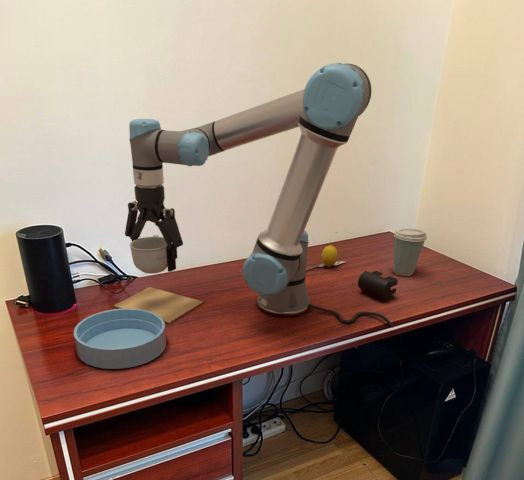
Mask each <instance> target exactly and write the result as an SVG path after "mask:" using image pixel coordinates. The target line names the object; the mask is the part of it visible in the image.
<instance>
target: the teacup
mask: <svg viewBox="0 0 524 480" xmlns="http://www.w3.org/2000/svg"><path fill="white" fill-rule="evenodd" d="M139 238H140V239H139ZM139 238H138V239H136V240H134V241H132V240H131V242H130V243H129V248H130V253H131V257H132V258H131V259H132V262H133V264H134V266H135V268H136V269H138V270H139V271H141V272H142V273H145V274H159V273H162V272H164V271H165V270H166V269H168V266H167V251H166V248H169V247H168V245H167V243H166V241H165V239H164V237H163V236H159V235H158V234H153V235H152V236H145V237H144V236H143V237H139Z"/></svg>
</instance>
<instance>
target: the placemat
mask: <svg viewBox="0 0 524 480" xmlns="http://www.w3.org/2000/svg"><path fill="white" fill-rule="evenodd" d="M203 303H204V301H203V300H200V299H196V298H192V297H188V296H184V295H181V294H177V293H174V292H171V291H167V290H162V289H159V288H155V287H151V286H149V287H147V288H145V289H143V290H141V291H139V292H137V293H135V294H133V295H131V296H129V297H127V298H125V299H123V300H121V301H120V302H117V303H115V304H113V308H114V309H126V308H129V309H141V310H146V311H149V312H153V313H155V314H157V315H159V316H160V317H161V318H162V319H163V321H164V323H165V324H168V325H170V324H171V323H173V322H175V321H176V320H178V319H179V318H181V317H184V315H187V314H188V313H189V312H191V311H193V310H194V309H196V308H197V307H199V306H201V305H202V304H203Z"/></svg>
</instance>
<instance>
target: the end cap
mask: <svg viewBox="0 0 524 480" xmlns="http://www.w3.org/2000/svg"><path fill="white" fill-rule="evenodd" d="M398 281H399V280H398V278H396V277H393V276H391V275H389V276H386V277H383V272H381V271H378V270H373V271H371V272H370V271H367V270H365V271H363V272H362V273H361V274H360V276H359V278H358V279H357V287H358V289H359V290H360V291H362V292H363V293H366V294H368V295H370V296H373V297H375V298H378V299H380V300H381V301H385V302H387V301H389V300H392V299H394V298H395V294H396V292H397V287H395V288H392V287H394V286H397V285H398Z"/></svg>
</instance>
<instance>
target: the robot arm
mask: <svg viewBox="0 0 524 480" xmlns="http://www.w3.org/2000/svg"><path fill="white" fill-rule="evenodd" d="M371 99H372V83H371V80H370V77H369V75H368V74H367V72H366V71H365V70H364V69H363V68H362V67H360V66H358V65H356V64H353V63H342V62H334V63H333V62H332V63H329V64H328V63H327V64H326V65H324V66H322V67H320V68H319V69H317V70H316V71H315V72H314V73H313V74H312V75H311V76H310V78H309V79H308V80H307V82H306V84H305V87H304V88H303V89H301V90H298V91H295V92H291V93H289V94H287V95H284V96H281V97H278V98H275V99H273V100H270V101H267V102H264V103H262V104H259V105H256V106H254V107H250V108H247V109H245V110H242V111H239V112H237V113H233V114H231V115H228V116H226V117H223V118H220V119H217V120H215V121H211V122H207V123H205V124H203V125H200V126H196V127H192V128H189V129H184V130H167V129H162V127H161V123H160V121H159V120H158V119H153V118H136V119H132V120H131V121H129V124H128V127H129V128H128V129H129V139H128V140H129V144H130V153H131V161H132V175H133V176H132V177H133V183H134V185H135V186H134V188H133V189H134V197H135V200H134V201H129V202H127V209H128V210H127V211H128V212H127V218H126V223H125V229H124V236H125V237H128V238H129V239H130V240H131V242H132V241H134V240H136V239H140V238H142V237H141V234H142V232H143V229H144V227H145V226H146V223H147V222H151V223H153V224H154V225H155V226H156V227H157V228H158V230H159V232H160V234H161V235H162V237H164V239H165V241H166V243H167V245H168V247H169V248H166V251H167V266H168V267H167V272H168V273H171V272H174V271H175V270H176V269H177V259H178V248H179V247H181V246H184V241H183V238H182V235H181V233H180V232H181V231H180V229H179V226H178V225H179V224H178V222H177V219H176V211H175V209H174V208H173V207H171V208H166V207H165V203H164V202H165V199H166V195H165V186H164V183H165V178H164V177H165V176H164V166H163V165H164V164H172V165H180V166H187V167H201V166H204V165H205V163H206V162H207V160H208V158H209V157H211V156H214V155H217V154H220V153H223V152H225V151H229V150H232V149H235V148H237V147H240V146H245V145H247V144H250V143H253V142H257V141H260V140H263V139H266V138H269V137H273V136H275V135H278V134H281V133H284V132H288V131H291V130H294V129H297V128H299V130H300V133H301V134H300V137H299V139H298V143H297V145H296V148H295V152H294V153H293V156H292V159H291V162H290V164H289V166H288V170H287V173H286V175H285V178H284V181H283V184H282V187H281V189H280V192H279V195H278V198H277V201H276V203H275V206H274V209H273V212H272V214H271V215H272V216H271V217H270V220H269V222H268V226H267V229H265V230H262V231H260V232H259V234H258V235H257V238H256V241H255V244H254V246H253V249H252V252H251V254H250V255H249V256H248V257H247V258H246V259H245V261H244V264H243V266H242V278H243V280H244V281H245V283H246V285H247V287H248V288H249V289H250V290H251V291H252V292H254V293H255V294H258V297H257V307H258V309H259V310H260V311H261V312H264V313H265V314H268V315H271V316H276V317H283V318H284V317H285V318H286V317H297V316H300V315H303V314H305V313H307V312H308V311H309V310H310V308H311V309H314V310H317V311H322V312H325V313H329V314H332V315H335V316H336V317H337V318H338V320H339V322H340V323H344V324H351V323H354V322H355V321H356V319H357V318H358V317H359V316H362V315H364V316H374V317H378V318H381V319H382V320H383V321H384V322H386V323H387V325H388V326H389V327H390V328H394V327H395V325H394V324H393V323H392V322H391V321H390V320H389V318H387V317H386V316H384V315H383V314H381V313H379V312H374V311H358V312H357V313H356V314H355V315H353V317H352V318H350V319H343V318H342V315H341V314H340V313H339V312H337V311H335V310H332V309H328V308H324V307H321V306H317V305H314V304H311V301H310V296H309V292H308V289H307V284H306V276H307V275H306V274H307V270H306V269H307V263H308V262H307V261H308V249H309V243H310V242H309V234H308V231H306V227H307V225H308V222H309V220H310V217H311V215H312V213H313V210H314V208H315V205H316V202H317V200H318V198H319V195H320V193H321V190H322V189H323V185H324V183H325V181H326V178H327V175H328V173H329V171H330V169H331V165H332V164H333V161H334V159H335V156H336V153H337V150H338V149H339V148H340V147H341V146H343V145H346V144H348V142H349V140H350V138H351V135H352V133H353V131H354V128H355V125H356V123H357V120H358V119H359V117H360V116H362V114H363V113H364V112H365V111H366V110H367V108H368V107H369V104H370V101H371ZM138 213H139V214H138Z"/></svg>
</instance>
